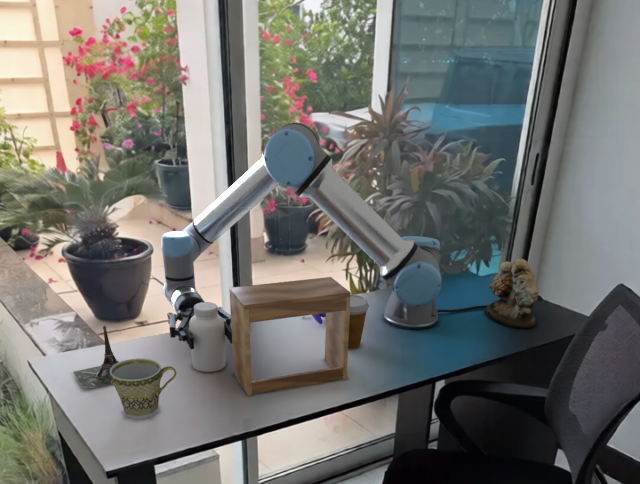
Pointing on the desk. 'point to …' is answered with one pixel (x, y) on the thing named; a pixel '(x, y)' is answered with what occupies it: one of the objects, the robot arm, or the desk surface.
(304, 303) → the open wooden shelf
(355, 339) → the disposable coffee cup
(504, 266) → the owl figurine
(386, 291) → the desk surface
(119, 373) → the ceramic cup
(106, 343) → the eiffel tower souvenir
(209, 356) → the pill bottle
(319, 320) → the game controller
